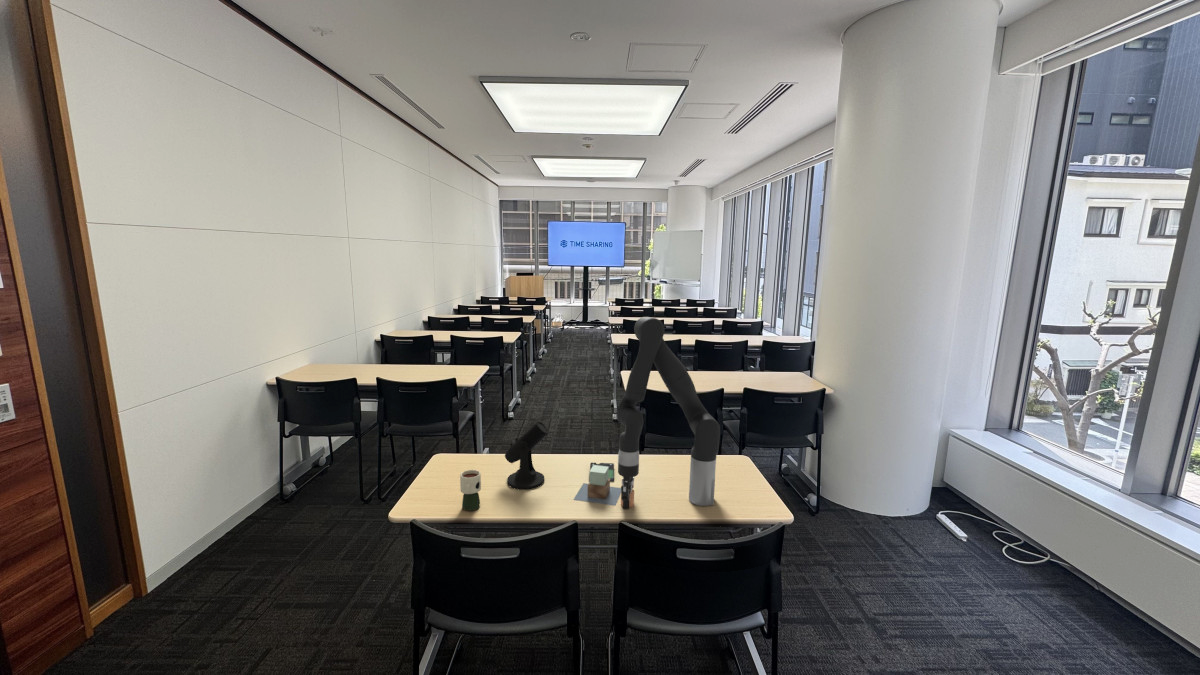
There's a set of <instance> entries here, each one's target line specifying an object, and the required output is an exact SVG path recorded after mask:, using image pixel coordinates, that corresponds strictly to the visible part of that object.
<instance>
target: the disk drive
mask: <svg viewBox="0 0 1200 675" xmlns="http://www.w3.org/2000/svg"><path fill="white" fill-rule="evenodd" d="M593 465H598V466H607V467H609V477H608V478H609V479H610V482H615V463H611V462H610V463H608V462H600V463H597V462H590V464H589V471H590V470H591V468H592V467H593Z"/></svg>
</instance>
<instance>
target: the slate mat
mask: <svg viewBox="0 0 1200 675" xmlns="http://www.w3.org/2000/svg"><path fill="white" fill-rule="evenodd" d="M587 495H588V483H586V482H583V483H582V484H581V487H580V488H579V490H578V491H577V493H576V494H575V495H574V498H573V501H579V502H587V503H592V504H599V505H608V506H613V507H614V506H616V505H617V504H618V501H619V498H620V497H621V487H617V486H610V491H609V493H608V496H607V498H606V499H599V498H592V497H587Z"/></svg>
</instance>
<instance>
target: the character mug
mask: <svg viewBox="0 0 1200 675" xmlns="http://www.w3.org/2000/svg"><path fill="white" fill-rule="evenodd" d="M481 474H482V473H481V471H480V470H477V469H467V470H464V471H462V472H460V474H459V479H460V480H459V482H460V493H462V494H463V495H462V502H461V503H462V504H461V508H462V509H463V510H468V511H475V510H477V509H479V508H480V506H481V500H480V495H479V492H480V491H481V490H482V479H481V478H482V477H481V476H482V475H481Z"/></svg>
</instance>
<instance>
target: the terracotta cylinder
mask: <svg viewBox="0 0 1200 675" xmlns="http://www.w3.org/2000/svg"><path fill="white" fill-rule="evenodd" d="M629 491H630V490H629ZM634 505H635V490H634V488H633V489H632V492H631V493H630V499H629V509H630V508H633V507H634ZM620 506H621V507H622V508H623V500H622V499H621V498H620Z"/></svg>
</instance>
